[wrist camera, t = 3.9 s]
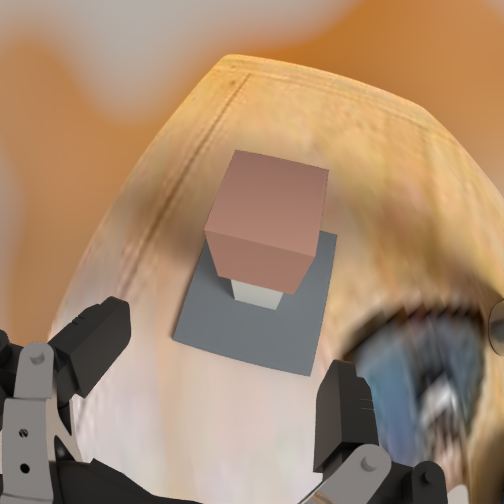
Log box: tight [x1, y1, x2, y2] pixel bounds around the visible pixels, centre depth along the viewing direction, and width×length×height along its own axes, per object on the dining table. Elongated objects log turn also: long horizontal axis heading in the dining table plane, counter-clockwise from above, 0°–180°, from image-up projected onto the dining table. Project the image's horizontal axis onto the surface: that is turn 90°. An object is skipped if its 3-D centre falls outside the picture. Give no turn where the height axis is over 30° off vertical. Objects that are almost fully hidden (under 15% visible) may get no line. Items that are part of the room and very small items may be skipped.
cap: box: [204, 150, 329, 295], centre depth 20 cm, size 6×6×8 cm
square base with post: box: [173, 231, 337, 376], centre depth 26 cm, size 18×16×18 cm
